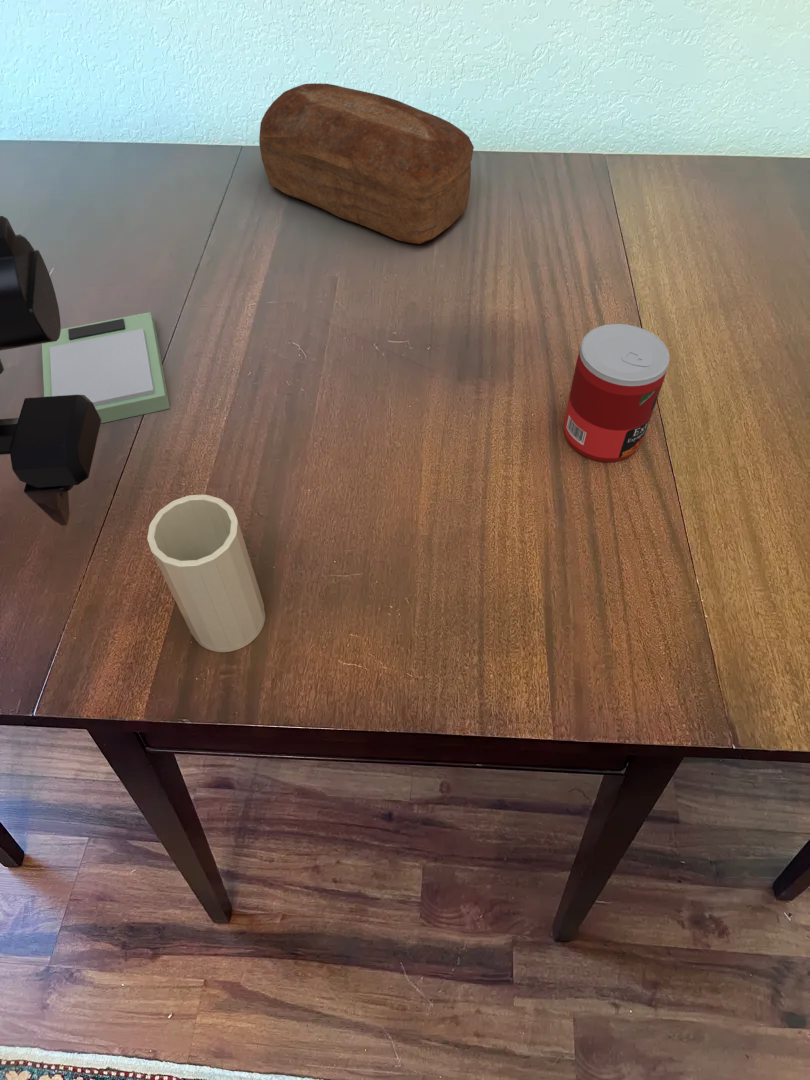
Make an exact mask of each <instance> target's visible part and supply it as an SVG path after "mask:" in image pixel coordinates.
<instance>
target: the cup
mask: <svg viewBox="0 0 810 1080" xmlns="http://www.w3.org/2000/svg"><path fill="white" fill-rule="evenodd" d="M146 540H147V543H148V545H149V548H150V551H151V554H152V555H153V558H154V560H155V562H156V564H157V565H158V566H157V567H158V568H159V570H160V572H161V574H162V576H163V578H164V580H165V582H166V584H167V586H168V588H169V591H170V593H171V595H172V597H173V599H174V601H175V604H176V605H177V608H178V610H179V611H180V614H181V615H182V618H183V621H184V622H185V624H186V626H187V628H188V630H189V632H190V634H191V636H192V637H193V638H194V640H195V642H197V644H198V645H200V646H201V647H203V648H204V649H206V650H208V651H211V652H215V653H231V652H235V651H238V650H241V649H242V648H245V647H246V646H248V645H250V643H253V641H255V639H257V637H258V636H259V635H260V633H261V632H262V630H263V627H264V625H265V621H266V609H265V604H264V601H263V597H262V594H261V590H260V587H259V584H258V581H257V577H256V573H255V571H254V568H253V565H252V561H251V558H250V555H249V552H248V548H247V545H246V543H245V539H244V535H243V532H242V529H241V526H240V523H239V519H238V517H237V515H236V512H235V511H234V508H233V507H232V506H231V505H229V503H227V502H226V501H225V500H223V499H222V498H220V497H217V496H212V495H209V494H190V495H185V496H183V497H180V498H177V499H175V500H172V501H170V502H169V503H168V504H167V505H165V506H164V507H162V508H161V509H159V510H158V511H157V513H156V514H155V516H154V517H153V518H152V520H151V522H150V523H149V525H148V531H147V536H146Z"/></svg>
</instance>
